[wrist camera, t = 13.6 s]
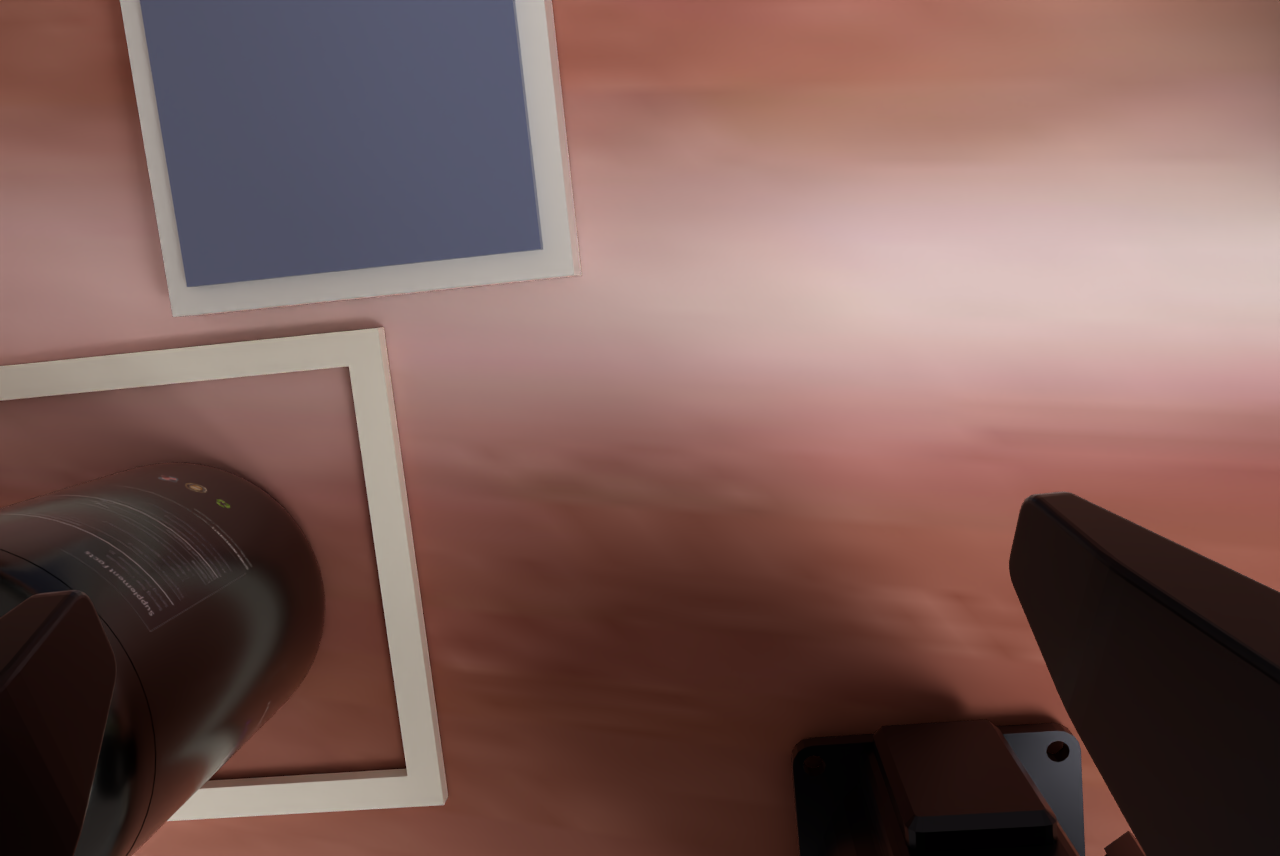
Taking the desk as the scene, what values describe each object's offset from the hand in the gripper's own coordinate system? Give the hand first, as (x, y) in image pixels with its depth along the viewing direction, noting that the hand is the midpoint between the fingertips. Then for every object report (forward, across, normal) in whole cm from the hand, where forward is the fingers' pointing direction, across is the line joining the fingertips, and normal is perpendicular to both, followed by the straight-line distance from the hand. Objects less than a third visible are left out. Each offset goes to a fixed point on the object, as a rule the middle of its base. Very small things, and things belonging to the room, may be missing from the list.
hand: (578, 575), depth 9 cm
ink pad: (+16, +4, -2) cm, 16 cm away
